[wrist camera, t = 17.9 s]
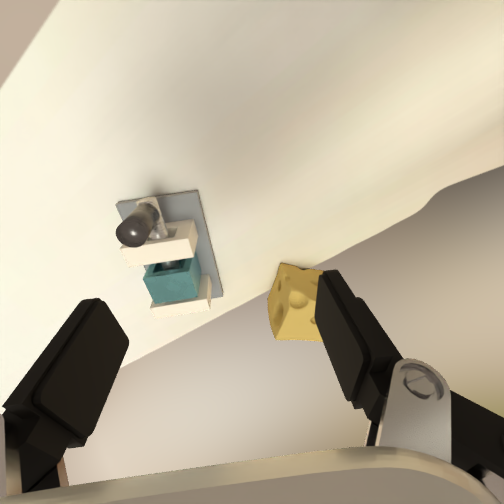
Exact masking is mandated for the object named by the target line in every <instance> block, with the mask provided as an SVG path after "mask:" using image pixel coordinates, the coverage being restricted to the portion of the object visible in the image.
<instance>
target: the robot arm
mask: <svg viewBox="0 0 504 504" xmlns="http://www.w3.org/2000/svg"><path fill="white" fill-rule="evenodd" d="M314 318H315V322H316V325H317V328H318V330H319V333H320V335H321V338H322V340H323V343H324V345H325V348H326V350H327V353H328V356H329V358H330V361H331V363H332V366H333V368H334V371H335V373H336V375H337V378H338V381H339V383H340V386H341V388H342V391H343V393H344V396H345V398H346V400H347V401H351V402H352V404H353V407H354V409H361V408H363V409H364V412H365V414H366V416H367V418H368V419H369V420H370V421H369V426H368V430H367V434H366V438H365V443H364V447H349V448H341V449H333V450H324V451H315V452H306V453H298V454H291V455H284V456H277V457H270V458H262V459H255V460H247V461H241V462H233V463H226V464H219V465H211V466H205V467H197V468H190V469H183V470H176V471H169V472H162V473H155V474H148V475H141V476H134V477H128V478H120V479H113V480H106V481H100V482H93V483H86V484H79V485H73V486H69V482H68V477H67V473H66V468H65V463H64V458H63V455H64V453H65V450H66V448H76V447H83V446H84V445H85V443H86V441H87V438H88V436H90V435H91V434H92V433H93V431H94V429H95V427H96V424H97V422H98V419H99V417H100V414H101V412H102V409H103V407H104V405H105V402H106V400H107V397H108V395H109V393H110V390H111V388H112V385H113V383H114V380H115V378H116V376H117V373H118V370H119V368H120V366H121V363H122V361H123V359H124V356H125V354H126V351H127V349H128V346H129V339H128V337H127V336H126V334H125V332H124V331H123V329H122V328H121V326H120V325H119V323H118V321H117V320H116V318H115V317H114V315H113V314H112V312H111V310H110V309H109V307H108V306H107V304H106V303H105V302H104V301H102V300H101V299H99V298H94V299H85V300H82V301H81V302H80V303H79V304H78V305H77V307H76V308H75V309H74V311H73V312H72V313H71V315H70V316H69V317H68V319H67V320H66V321H65V323H64V324H63V325H62V327H61V328H60V329H59V331H58V332H57V333H56V335H55V336H54V338H53V339H52V340H51V342H50V343H49V344H48V346H47V347H46V348H45V350H44V351H43V352H42V354H41V355H40V356H39V358H38V359H37V360H36V362H35V363H34V364H33V366H32V367H31V368H30V370H29V371H28V372H27V374H26V375H25V376H24V378H23V379H22V380H21V382H20V383H19V384H18V386H17V387H16V388H15V390H14V391H13V392H12V394H11V395H10V396H9V398H8V399H7V400H6V402H5V403H4V404H3V406H2V407H4V408H5V409H6V410H5V412H4V413H3V414H2V415H1V414H0V504H504V418H503V417H501V416H499V415H497V414H495V413H493V412H491V411H489V410H488V409H486V408H484V407H482V406H480V405H478V404H476V403H474V402H472V401H470V400H468V399H466V398H464V397H463V396H461V395H459V394H457V393H455V392H453V391H451V390H450V388H449V386H448V384H447V382H446V380H445V379H444V378H443V377H442V376H441V374H440V373H439V372H438V371H436V370H435V369H434V368H433V367H431V366H430V365H428V364H426V363H424V362H422V361H419V360H416V359H409V358H407V359H403V357H402V356H401V355H400V353H399V352H398V350H397V349H396V347H395V346H394V344H393V343H392V341H391V340H390V338H389V337H388V335H387V334H386V333H385V331H384V330H383V328H382V327H381V325H380V324H379V322H378V321H377V319H376V318H375V316H374V315H373V314H372V312H371V311H370V309H369V308H368V306H367V305H366V303H365V302H364V301H363V299H361V298H359V297H355V295H354V294H353V293H352V291H351V289H350V288H349V286H348V285H347V283H346V282H345V281H344V279H343V277H342V276H341V274H340V273H339V271H338V270H328V271H323V273H322V275H319V278H318V287H317V296H316V305H315V314H314Z"/></svg>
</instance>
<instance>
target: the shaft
mask: <svg viewBox="0 0 504 504" xmlns="http://www.w3.org/2000/svg"><path fill="white" fill-rule="evenodd" d="M136 204H137V207H136V208H135V209H134V210H133V211H132V212H131V213H130V214H129V215H128V217H127V218H126V219H125V220H124V221H123V222H122V223H121V224H120V225H119V226H118V227H117V229H116V236H117V238H118V240H119V241H120V242H121V243H122V244H123V245H125V246H128V247H131V248H137V247H140V246H142V245H143V244H144V243H145V242H146V240H147V238H148V237H149V236H150V238H151V240H152V241H153V240H160V239H166V238H170V236H169V233H168V230H167V227H166V225H165V222H164V219H163V216H162V213H161V211H160V208H159V205H158V202H157V199H156V197H146V198H143V199H140V200H138V201H136ZM161 265H162V267H163V270H164V271H167V270H174V269H180V268H181V267H180V264H179V261H178V260H173V261H166V262H161Z"/></svg>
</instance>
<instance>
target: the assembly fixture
mask: <svg viewBox="0 0 504 504" xmlns="http://www.w3.org/2000/svg"><path fill="white" fill-rule="evenodd" d="M155 197H156V199H157V202H158V205H159V208H160V211H161V213H162V216H163V219H164V222H165V225H166V227H167V230H168V233H169V236H170V238H166V239H160V240H153V241H152V240H151V238H150V236H149V237H148V238H147V240H146V242H145V243H144V244H143V245H142V246H140V247H137V248H131V247H128V246H125V245H122V247H121V248H120V251H121V253H122V255H123V257H124V259H125V261H126V263H127V265H128V267H135V266H141V265H143V266H144V268H145V270H146V271H147V269H148V267H149V265H150V264H154V263H160V262H166V261H173V260H179V259H185V258H192V257H194V253H195V250H196V253H197V257H198V260H199V263H200V267H201V270H202V271H201V278H200V285H199V292H198V297H195V298H189V299H183V300H177V301H171V302H165V303H158V304H155V303H154V301H152V304H151V306H150V310H151V312H152V314H153V316H154V318H155V319H159V318H165V317H171V316H177V315H183V314H190V313H196V312H202V311H208V310H210V304H211V299H212V298H218V297H223V290H222V286H221V282H220V278H219V274H218V270H217V266H216V262H215V258H214V254H213V250H212V246H211V242H210V238H209V234H208V230H207V226H206V222H205V218H204V214H203V210H202V206H201V202H200V198H199V194H198V190H195V191H188V192H181V193H175V194H168V195H161V196H155ZM141 199H143V198H141ZM138 200H140V199H134V200H128V201H121V202H118V203H117V204H115V205H116V207H117V209H118V212H119V214H120V216H121V218H122V220H123V221H124V220H125V219H126V218H127V217H128V215H129V214H130V213H131V212H132V211H133V210H134V209H135V208H136V207H137V204H136V201H138Z"/></svg>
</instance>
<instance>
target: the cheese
mask: <svg viewBox="0 0 504 504" xmlns="http://www.w3.org/2000/svg"><path fill="white" fill-rule="evenodd" d="M322 273H323V271H322V270H315V269H305V270H301V269H299V268H298V267H297V266H292V265H288V264H284V263H281V264H280V266H279V270H278V273H277V276H276V279H275V282H274V284H273V287H272V289H271V292H270V294H269V297H268V313H269V320H270V325H271V329H272V332H273V335H274V337H275V339H276V340H309V341H320V342H323V340H322V338H321V335H320V333H319V330H318V328H317V325H316V322H315V318H314V314H315V305H316V296H317V287H318V278H319V275H322Z"/></svg>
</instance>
